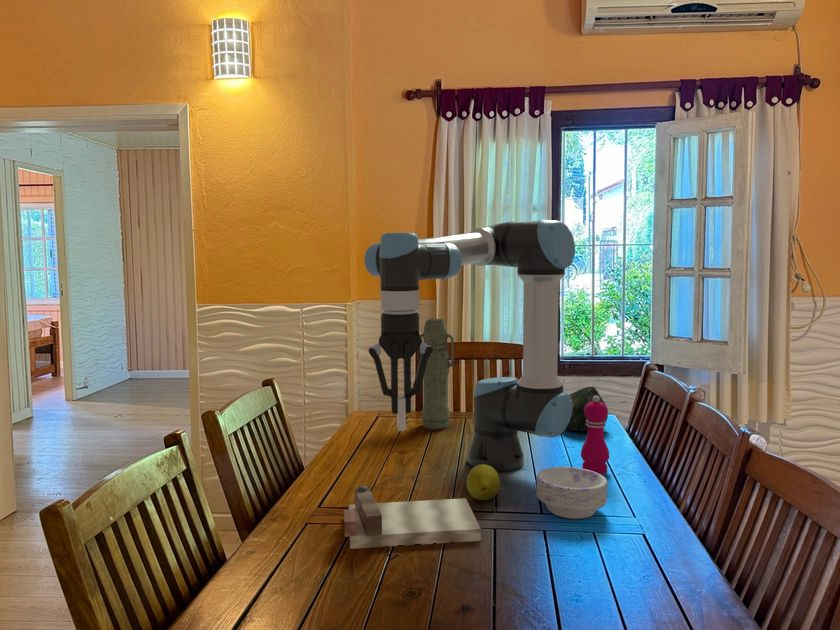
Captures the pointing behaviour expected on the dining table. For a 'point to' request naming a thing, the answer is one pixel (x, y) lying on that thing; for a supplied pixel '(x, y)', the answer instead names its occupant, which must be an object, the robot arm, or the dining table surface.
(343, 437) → the dining table surface
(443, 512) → the stool seat
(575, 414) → the squash
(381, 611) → the dining table surface
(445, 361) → the thermos
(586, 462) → the pepper mill
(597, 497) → the paper bowls
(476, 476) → the lemon
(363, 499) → the walnut leg
